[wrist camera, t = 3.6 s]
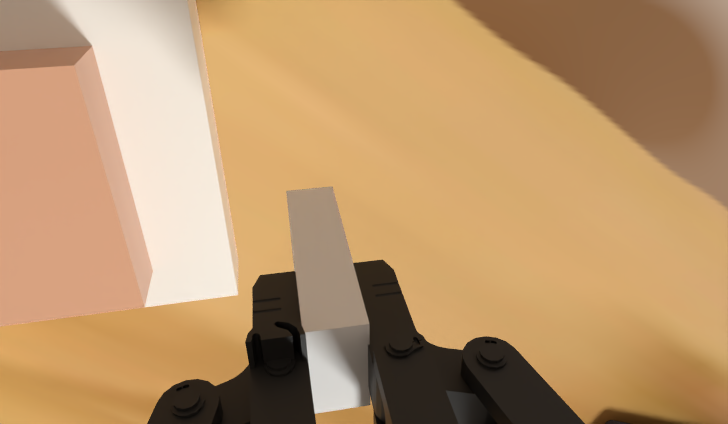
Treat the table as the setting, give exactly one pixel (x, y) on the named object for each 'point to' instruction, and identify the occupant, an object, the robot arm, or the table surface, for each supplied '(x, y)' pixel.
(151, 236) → the panel
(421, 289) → the table surface
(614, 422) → the calculator
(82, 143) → the tile
